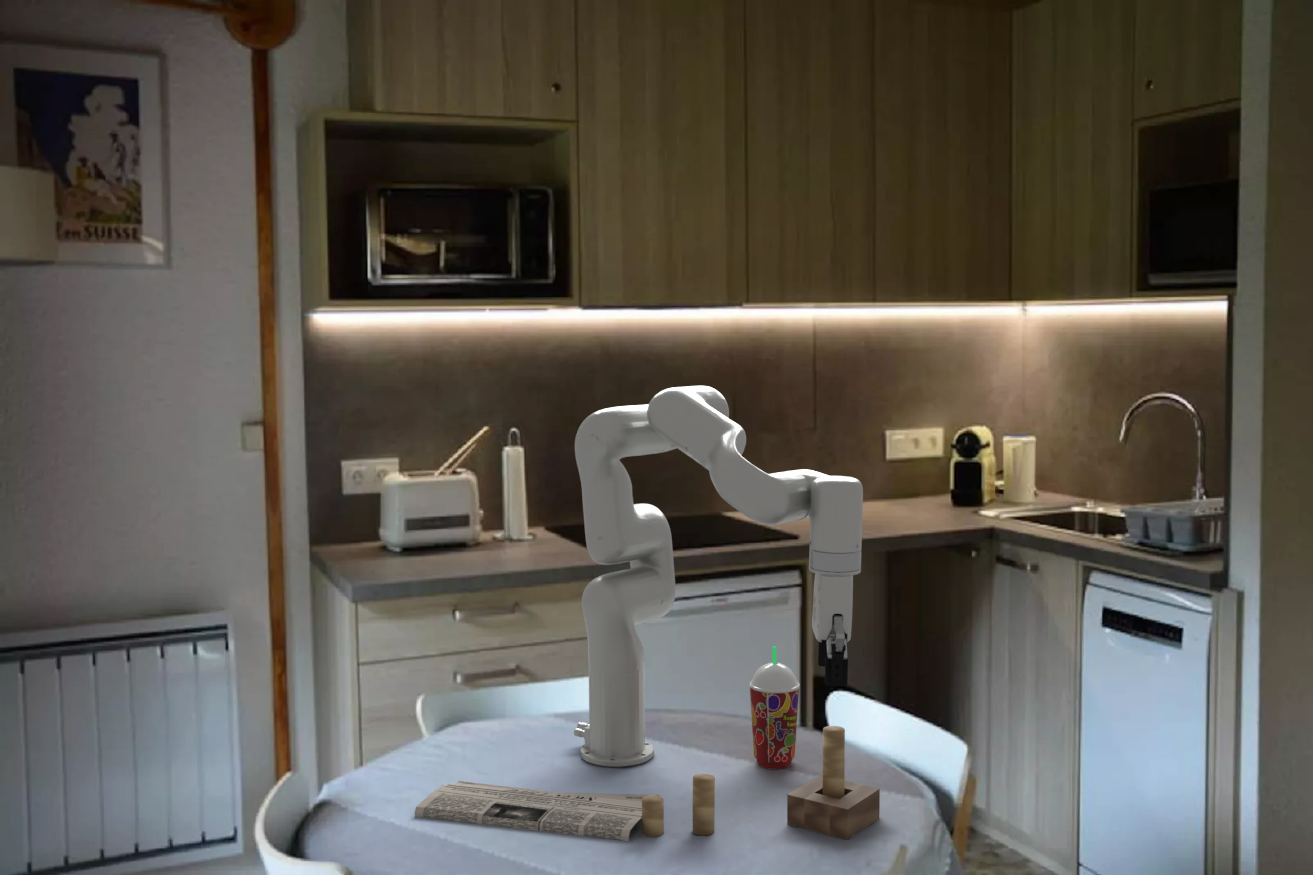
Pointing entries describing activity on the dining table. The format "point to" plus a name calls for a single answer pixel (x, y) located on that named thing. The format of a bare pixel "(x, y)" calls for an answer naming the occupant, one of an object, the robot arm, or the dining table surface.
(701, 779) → the medium dowel
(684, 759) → the dining table surface
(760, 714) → the smoothie
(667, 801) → the dining table surface
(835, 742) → the long dowel
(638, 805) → the newspaper
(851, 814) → the collar
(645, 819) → the short dowel
